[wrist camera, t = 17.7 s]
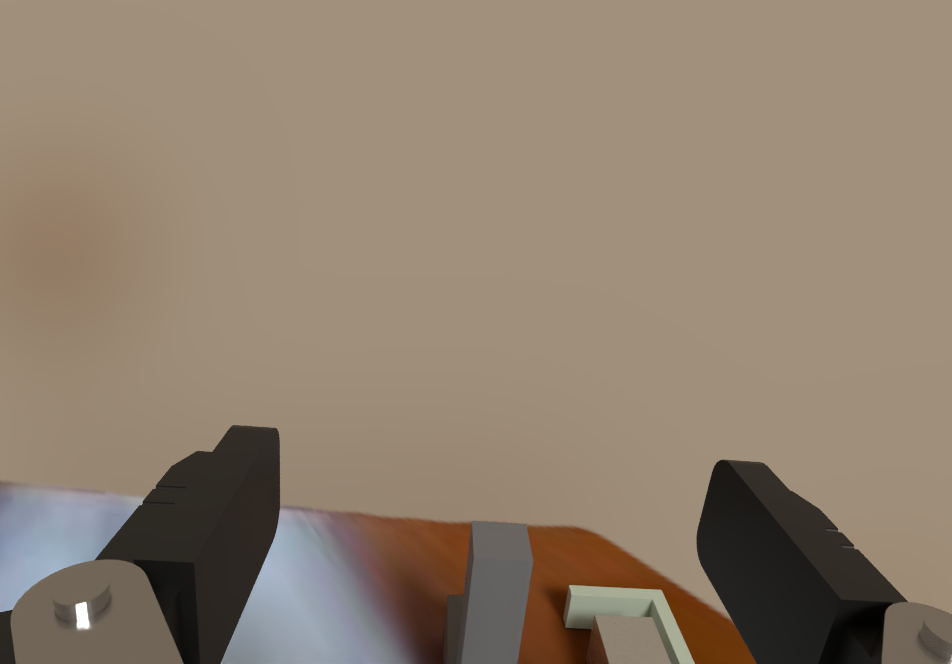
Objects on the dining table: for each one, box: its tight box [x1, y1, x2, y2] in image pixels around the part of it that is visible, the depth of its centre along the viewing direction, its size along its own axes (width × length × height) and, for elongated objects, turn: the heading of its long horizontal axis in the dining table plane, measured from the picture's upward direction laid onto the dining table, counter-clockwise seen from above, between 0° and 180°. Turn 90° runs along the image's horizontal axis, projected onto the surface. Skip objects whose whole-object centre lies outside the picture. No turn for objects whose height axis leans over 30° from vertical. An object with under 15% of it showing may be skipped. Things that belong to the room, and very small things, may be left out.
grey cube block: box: [586, 615, 671, 664], centre depth 40 cm, size 4×4×4 cm
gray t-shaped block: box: [443, 521, 533, 664], centre depth 34 cm, size 4×14×14 cm, turn 2°
